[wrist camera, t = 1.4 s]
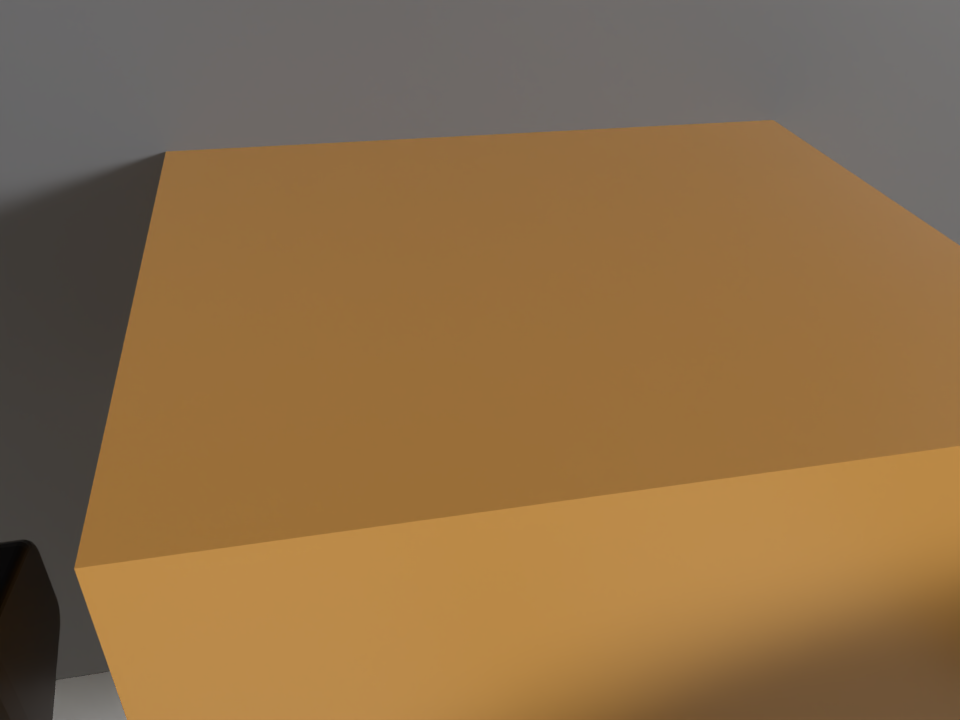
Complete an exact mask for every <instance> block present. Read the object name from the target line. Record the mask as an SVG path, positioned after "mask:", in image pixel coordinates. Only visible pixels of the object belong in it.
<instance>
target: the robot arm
mask: <svg viewBox="0 0 960 720" xmlns="http://www.w3.org/2000/svg"><path fill="white" fill-rule="evenodd" d="M59 636H60V609H59V604H58V600H57V597H56V594H55V592H54V589H53V587H52V584H51V581H50V579H49V576H48V573H47V571H46V568H45V565H44V563H43V560H42V557H41V555H40V552H39V550H38V548H37V547H36V545H35V544H34V543H33V542H32V541H29V540H23V539H22V540H15V541H7V542H0V720H52V718H53V706H54V695H55V683H56V671H57V660H58V648H59Z"/></svg>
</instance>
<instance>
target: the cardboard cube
mask: <svg viewBox="0 0 960 720" xmlns="http://www.w3.org/2000/svg"><path fill="white" fill-rule="evenodd" d="M74 570H75V573H76V575H77V578H78V581H79V584H80V587H81V590H82V593H83V595H84V598H85V601H86V604H87V607H88V610H89V612H90V615H91V618H92V621H93V624H94V627H95V630H96V632H97V635H98V638H99V641H100V644H101V647H102V650H103V652H104V655H105V658H106V661H107V664H108V667H109V670H110V672H111V675H112V678H113V681H114V684H115V687H116V689H117V692H118V695H119V698H120V701H121V704H122V707H123V709H124V712H125V715H126V718H127V720H960V245H958V244H957V243H955V242H954V241H952V240H951V239H949V238H948V237H946V236H945V235H944V234H942V233H941V232H939V231H938V230H936V229H935V228H933V227H932V226H930V225H929V224H927V223H926V222H924V221H923V220H921V219H920V218H918V217H917V216H915V215H914V214H912V213H911V212H909V211H908V210H906V209H905V208H903V207H902V206H900V205H899V204H897V203H896V202H894V201H893V200H891V199H890V198H888V197H887V196H885V195H884V194H883V193H881V192H880V191H878V190H877V189H875V188H874V187H872V186H871V185H869V184H868V183H866V182H865V181H863V180H862V179H860V178H859V177H857V176H856V175H854V174H853V173H851V172H850V171H848V170H847V169H845V168H844V167H842V166H841V165H839V164H838V163H836V162H835V161H833V160H832V159H830V158H829V157H827V156H826V155H825V154H823V153H822V152H820V151H819V150H817V149H816V148H814V147H813V146H811V145H810V144H808V143H807V142H805V141H804V140H802V139H801V138H799V137H798V136H796V135H795V134H793V133H792V132H790V131H789V130H787V129H786V128H784V127H783V126H781V125H780V124H778V123H777V122H775V121H774V120H762V121H743V122H724V123H705V124H685V125H666V126H647V127H628V128H608V129H589V130H570V131H551V132H531V133H512V134H493V135H474V136H454V137H435V138H416V139H397V140H377V141H358V142H339V143H320V144H300V145H281V146H262V147H243V148H223V149H204V150H185V151H166V153H165V157H164V162H163V167H162V171H161V176H160V180H159V185H158V189H157V194H156V198H155V203H154V208H153V212H152V217H151V221H150V226H149V230H148V235H147V239H146V244H145V248H144V253H143V258H142V262H141V267H140V271H139V276H138V280H137V285H136V289H135V294H134V299H133V303H132V308H131V312H130V317H129V321H128V326H127V330H126V335H125V339H124V344H123V349H122V353H121V358H120V362H119V367H118V371H117V376H116V380H115V385H114V390H113V394H112V399H111V403H110V408H109V412H108V417H107V421H106V426H105V430H104V435H103V440H102V444H101V449H100V453H99V458H98V462H97V467H96V471H95V476H94V481H93V485H92V490H91V494H90V499H89V503H88V508H87V512H86V517H85V521H84V526H83V531H82V535H81V540H80V544H79V549H78V553H77V558H76V562H75V567H74Z"/></svg>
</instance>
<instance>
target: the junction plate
mask: <svg viewBox="0 0 960 720" xmlns="http://www.w3.org/2000/svg"><path fill="white" fill-rule="evenodd" d="M762 120H774V121H775V122H777V123H778V124H780V125H781V126H783V127H784V128H786V129H787V130H789V131H790V132H792V133H793V134H795V135H796V136H798V137H799V138H801V139H802V140H804V141H805V142H807V143H808V144H810V145H811V146H813V147H814V148H816V149H817V150H819V151H820V152H822V153H823V154H825V155H826V156H827V157H829V158H830V159H832V160H833V161H835V162H836V163H838V164H839V165H841V166H842V167H844V168H845V169H847V170H848V171H850V172H851V173H853V174H854V175H856V176H857V177H859V178H860V179H862V180H863V181H865V182H866V183H868V184H869V185H871V186H872V187H874V188H875V189H877V190H878V191H880V192H881V193H883V194H884V195H885V196H887V197H888V198H890V199H891V200H893V201H894V202H896V203H897V204H899V205H900V206H902V207H903V208H905V209H906V210H908V211H909V212H911V213H912V214H914V215H915V216H917V217H918V218H920V219H921V220H923V221H924V222H926V223H927V224H929V225H930V226H932V227H933V228H935V229H936V230H938V231H939V232H941V233H942V234H944V235H945V236H946V237H948V238H949V239H951V240H952V241H954V242H955V243H957V244H958V245H960V0H0V542H7V541H15V540H22V539H23V540H29V541H32V542H33V543H34V544H35V545H36V547H37V548H38V550H39V552H40V555H41V557H42V560H43V563H44V565H45V568H46V571H47V573H48V576H49V579H50V581H51V584H52V587H53V589H54V592H55V594H56V597H57V600H58V604H59V609H60V636H59V648H58V660H57V671H56V680H59V679H65V678H71V677H78V676H84V675H90V674H96V673H102V672H109V671H110V670H109V667H108V664H107V661H106V658H105V655H104V652H103V650H102V647H101V644H100V641H99V638H98V635H97V632H96V630H95V627H94V624H93V621H92V618H91V615H90V612H89V610H88V607H87V604H86V601H85V598H84V595H83V593H82V590H81V587H80V584H79V581H78V578H77V575H76V573H75V570H74V567H75V562H76V558H77V553H78V549H79V544H80V540H81V535H82V531H83V526H84V521H85V517H86V512H87V508H88V503H89V499H90V494H91V490H92V485H93V481H94V476H95V471H96V467H97V462H98V458H99V453H100V449H101V444H102V440H103V435H104V430H105V426H106V421H107V417H108V412H109V408H110V403H111V399H112V394H113V390H114V385H115V380H116V376H117V371H118V367H119V362H120V358H121V353H122V349H123V344H124V339H125V335H126V330H127V326H128V321H129V317H130V312H131V308H132V303H133V299H134V294H135V289H136V285H137V280H138V276H139V271H140V267H141V262H142V258H143V253H144V248H145V244H146V239H147V235H148V230H149V226H150V221H151V217H152V212H153V208H154V203H155V198H156V194H157V189H158V185H159V180H160V176H161V171H162V167H163V162H164V157H165V153H166V151H185V150H204V149H223V148H243V147H262V146H281V145H300V144H320V143H339V142H358V141H377V140H397V139H416V138H435V137H454V136H474V135H493V134H512V133H531V132H551V131H570V130H589V129H608V128H628V127H647V126H666V125H685V124H705V123H724V122H743V121H762Z"/></svg>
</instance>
